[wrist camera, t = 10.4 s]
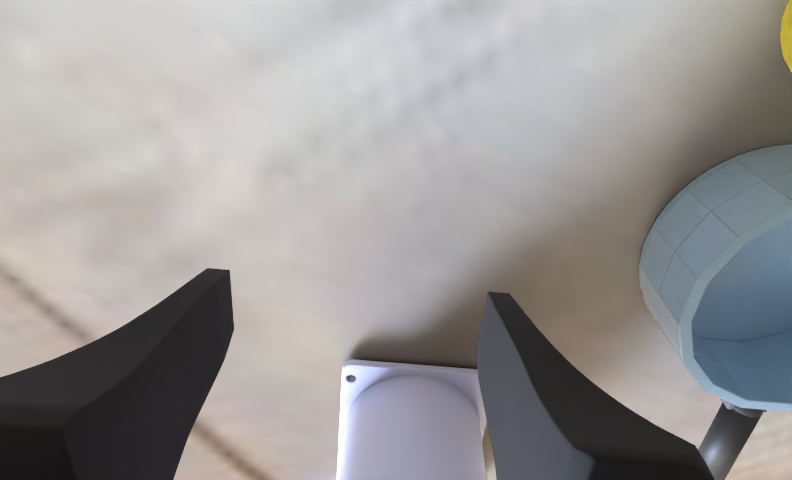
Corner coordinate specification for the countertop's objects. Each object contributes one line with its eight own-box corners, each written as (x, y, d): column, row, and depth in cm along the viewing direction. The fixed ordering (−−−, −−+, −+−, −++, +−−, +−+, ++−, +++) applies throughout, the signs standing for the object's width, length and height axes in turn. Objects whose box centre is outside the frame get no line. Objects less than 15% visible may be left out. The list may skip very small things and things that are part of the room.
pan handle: (721, 367, 25) (742, 397, 24) (759, 371, 25) (783, 400, 24) (671, 469, 29) (686, 501, 27) (705, 472, 29) (722, 503, 27)
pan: (815, 350, 28) (883, 419, 24) (611, 333, 27) (645, 400, 23) (932, 155, 22) (1042, 202, 19) (682, 132, 22) (740, 175, 18)
